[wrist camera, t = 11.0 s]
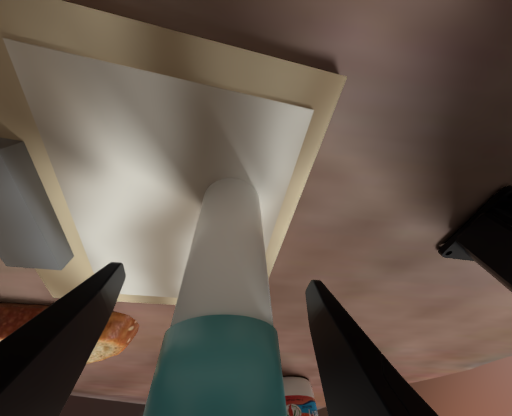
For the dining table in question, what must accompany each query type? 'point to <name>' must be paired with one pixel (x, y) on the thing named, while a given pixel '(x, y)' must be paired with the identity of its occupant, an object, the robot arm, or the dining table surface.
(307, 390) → the fruit juice
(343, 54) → the dining table surface
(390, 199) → the dining table surface
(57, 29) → the clipboard
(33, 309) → the bread slice
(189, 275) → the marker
